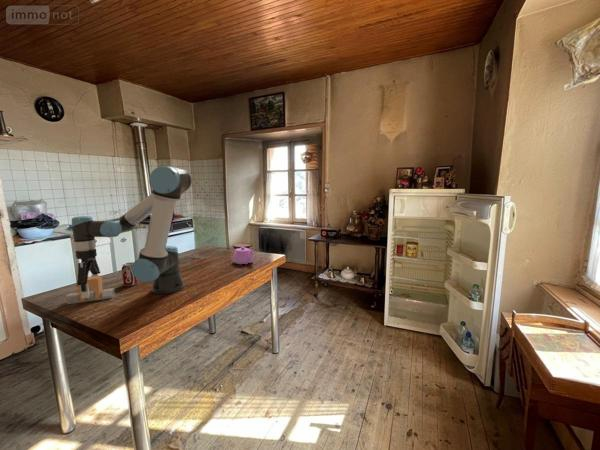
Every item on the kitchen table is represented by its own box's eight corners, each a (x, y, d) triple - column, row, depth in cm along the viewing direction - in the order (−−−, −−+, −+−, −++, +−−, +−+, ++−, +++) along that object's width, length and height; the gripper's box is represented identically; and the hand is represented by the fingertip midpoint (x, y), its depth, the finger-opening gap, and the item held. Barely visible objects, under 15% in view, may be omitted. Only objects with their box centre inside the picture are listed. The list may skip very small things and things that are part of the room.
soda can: (136, 281, 147) (134, 261, 145) (139, 284, 142) (137, 264, 141) (122, 284, 142) (120, 263, 141) (124, 288, 138) (122, 266, 136)
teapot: (227, 263, 183) (227, 247, 181) (241, 258, 194) (241, 243, 192) (247, 268, 172) (246, 251, 170) (261, 263, 182) (260, 247, 181)
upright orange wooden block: (103, 294, 127) (101, 275, 126) (100, 298, 123) (97, 278, 121) (83, 297, 125) (81, 277, 123) (79, 301, 120) (76, 281, 118)
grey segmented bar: (115, 295, 129) (114, 287, 128) (113, 297, 126) (112, 290, 125) (70, 301, 122) (69, 293, 122) (67, 304, 119) (65, 296, 118)
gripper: (86, 244, 130) (91, 284, 133) (63, 256, 107) (69, 304, 110) (104, 243, 133) (108, 282, 136) (85, 255, 110) (91, 301, 113)
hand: (91, 292), depth 123 cm, fingers open, 13 cm apart
